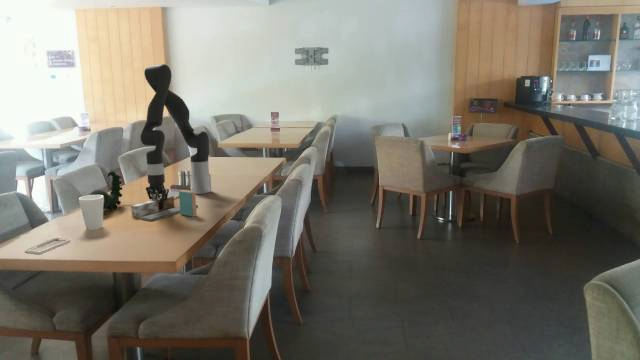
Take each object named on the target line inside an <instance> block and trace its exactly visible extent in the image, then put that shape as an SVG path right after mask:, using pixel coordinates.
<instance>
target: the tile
mask: <svg viewBox="0 0 640 360" xmlns="http://www.w3.org/2000/svg"><path fill="white" fill-rule="evenodd" d="M178 196H179V199H178V200H179V206H180V215H185V216H190V217H193V216H194V217H195V215H198V214H197V213H198V212H197V208H196V205H197V200H196V199H197V196H196V194H195V192H194V191H193V190H186V189H181V190H179V191H178Z"/></svg>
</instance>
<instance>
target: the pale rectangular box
mask: <svg viewBox="0 0 640 360" xmlns="http://www.w3.org/2000/svg"><path fill="white" fill-rule="evenodd" d="M164 198H165V197H164ZM171 208H175V196H174V195H168V197H167V200H165V201H164V209H162V210H160V209H159V201H158V199H155V200H152V199H150V200H148V201H144V202H141V203H137V204H133V205H131V206H130V211H131V217H132V216H133V217H132V218H140V217H144V216H148V215H151V214H155V213H158V212H161V211H165V210H168V209H171Z"/></svg>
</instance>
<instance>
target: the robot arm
mask: <svg viewBox="0 0 640 360" xmlns="http://www.w3.org/2000/svg"><path fill="white" fill-rule="evenodd" d="M143 72H144V74H143V75H144V77H145V80H146V82H147V83H148V85H149V86H150V88H151V89H152V90H153V91H154V93H155V94H154V95H153V97H152V98H151V101H150V102H149V105H148V106H147V113H146V121H145V123H144V126H143V128H142V131H141V133H140V142H141V144H143V145H144V146H155V148H154V149H151V150H148V151H146V155H145V157H146V175H147V176H146V177H147V183H148V184H149V186H147V187H145V191H146V193H147V196H148V199H149V200H155V199H158V201H159V209H160V211H163V210H162V209H164V201H165V200H167V197H168V196H169V192H170V189H168V188H166V187H165V185H164V184H165V182H166V177H165V167H164V161H163V160H164V159H163V158H164V157H163V153H164V152H163V150H164V145H165V140H166V137H165V133H164V131H163V130H160V129H155V128H159V127H161V126H162V125H163V118H164V110H165V109H164V108H166V110H167V112H168V114H169V115H170V116H171V118H172V119H173V121H174V123H175V124H176V126H177V128H178V129H179V130H180V133H181V135H182V137H183V139H184V141H185V143H186V145H187V146H188V147H189V148H191V149H196V153H195V154H192V155H191V156H190V171H191V174H190V175H191V188H192V191H194V192H195V195H204V194H209V193H211V192H212V180H211V179H212V176H211V173H210V167H209V156H210V136H209V135H208V132H207V131H204V130H195V129H194V128H193V127H192V124H190V109H189V107H188V105H187V104H186V102H185V101H184V100H183V98H181V97H180V96H179V95H178V94H177V93H174V92H173V91H171V90H170V89H169V88H170V86H171V81H172V71H171V68H170V66H169V65H167V64H162V63H161V64H156V65H150V66H147V67H146V68H145V69H144V71H143ZM164 197H165V198H164ZM164 210H165V209H164Z"/></svg>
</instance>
